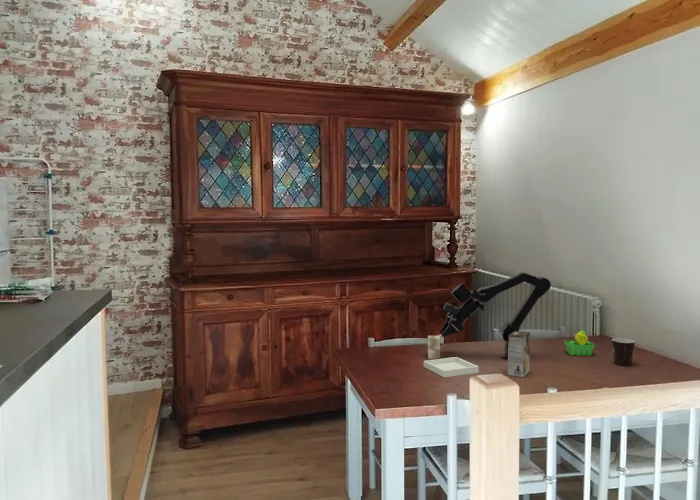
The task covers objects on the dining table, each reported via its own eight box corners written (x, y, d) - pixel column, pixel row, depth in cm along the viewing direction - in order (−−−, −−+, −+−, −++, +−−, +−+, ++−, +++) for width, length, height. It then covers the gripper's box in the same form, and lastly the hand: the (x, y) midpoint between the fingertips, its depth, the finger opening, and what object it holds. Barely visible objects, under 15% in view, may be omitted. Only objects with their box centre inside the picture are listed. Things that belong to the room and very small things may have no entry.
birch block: (439, 355, 247) (439, 335, 246) (439, 358, 242) (439, 338, 241) (427, 355, 247) (427, 335, 247) (428, 358, 242) (428, 338, 242)
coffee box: (513, 369, 225) (514, 330, 223) (529, 371, 221) (530, 332, 220) (507, 375, 217) (507, 334, 216) (523, 377, 213) (524, 336, 212)
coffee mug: (615, 360, 237) (616, 337, 236) (637, 363, 231) (638, 340, 230) (605, 365, 229) (605, 341, 228) (627, 369, 223) (628, 345, 222)
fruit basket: (589, 352, 251) (589, 327, 250) (596, 357, 242) (596, 331, 242) (563, 351, 252) (564, 327, 252) (569, 356, 244) (569, 331, 243)
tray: (478, 372, 220) (478, 366, 220) (444, 377, 214) (444, 371, 214) (456, 362, 235) (456, 356, 235) (423, 366, 229) (423, 360, 229)
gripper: (452, 293, 251) (427, 317, 253) (455, 300, 233) (429, 325, 235) (469, 311, 251) (444, 334, 253) (474, 319, 232) (447, 344, 234)
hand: (441, 334), depth 244 cm, fingers open, 9 cm apart
